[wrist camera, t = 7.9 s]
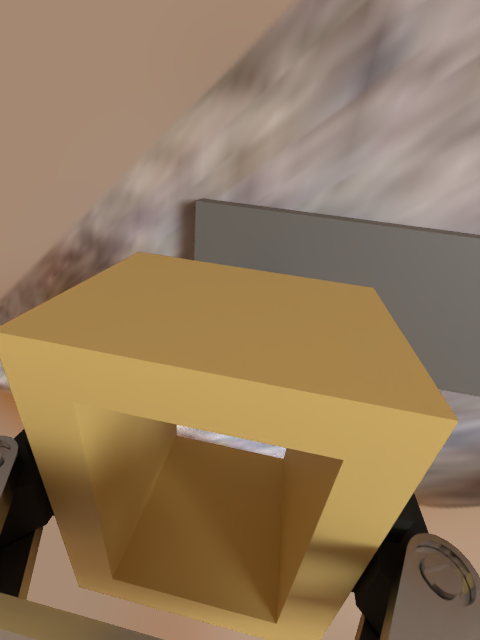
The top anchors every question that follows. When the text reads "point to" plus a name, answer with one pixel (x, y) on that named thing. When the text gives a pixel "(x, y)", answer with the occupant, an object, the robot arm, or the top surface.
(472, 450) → the top surface
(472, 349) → the keeper board
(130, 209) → the top surface
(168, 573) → the tan hollow block
